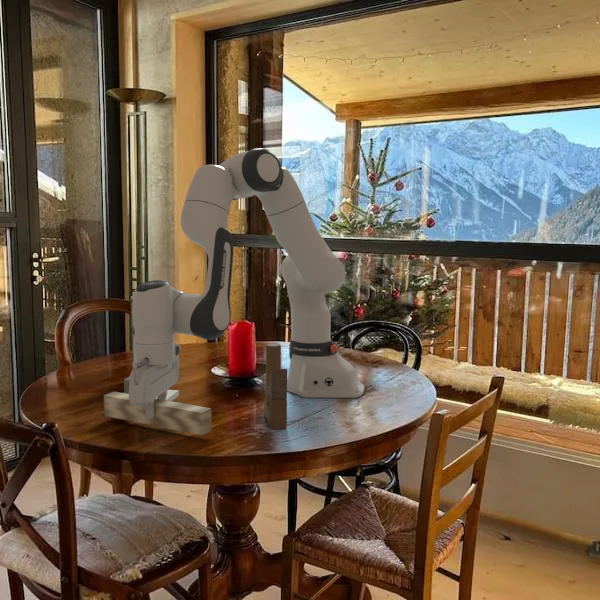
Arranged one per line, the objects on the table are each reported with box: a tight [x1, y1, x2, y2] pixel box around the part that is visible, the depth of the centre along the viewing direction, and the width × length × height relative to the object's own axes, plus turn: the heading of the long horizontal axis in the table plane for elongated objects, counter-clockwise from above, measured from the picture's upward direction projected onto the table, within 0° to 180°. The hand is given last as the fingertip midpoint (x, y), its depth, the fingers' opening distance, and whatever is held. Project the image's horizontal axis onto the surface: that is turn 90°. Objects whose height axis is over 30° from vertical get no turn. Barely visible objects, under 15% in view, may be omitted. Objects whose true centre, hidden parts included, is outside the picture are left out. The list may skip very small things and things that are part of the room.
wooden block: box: [263, 343, 288, 431], centre depth 140 cm, size 4×11×18 cm, turn 12°
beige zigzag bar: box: [103, 391, 213, 436], centre depth 135 cm, size 28×4×5 cm, turn 63°
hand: (155, 413), depth 135 cm, fingers closed on beige zigzag bar, 4 cm apart
